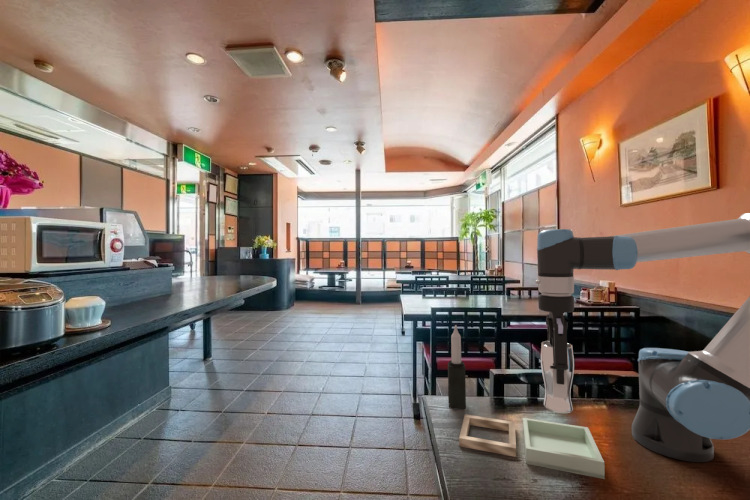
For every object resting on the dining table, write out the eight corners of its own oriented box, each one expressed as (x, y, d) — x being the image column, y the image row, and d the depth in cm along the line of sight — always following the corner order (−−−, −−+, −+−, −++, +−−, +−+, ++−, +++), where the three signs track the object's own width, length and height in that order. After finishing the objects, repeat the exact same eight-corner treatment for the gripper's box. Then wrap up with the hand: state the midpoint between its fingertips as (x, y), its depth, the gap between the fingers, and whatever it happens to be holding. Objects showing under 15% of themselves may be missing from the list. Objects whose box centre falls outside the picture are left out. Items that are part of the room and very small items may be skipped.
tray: (588, 441, 84) (587, 427, 84) (604, 479, 70) (604, 462, 70) (523, 430, 90) (522, 417, 90) (526, 463, 76) (525, 448, 76)
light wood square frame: (514, 429, 90) (514, 422, 90) (516, 456, 78) (516, 448, 78) (465, 421, 95) (465, 414, 95) (459, 446, 83) (459, 438, 83)
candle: (466, 409, 102) (464, 327, 103) (449, 408, 103) (447, 326, 103) (464, 402, 107) (463, 323, 108) (448, 401, 108) (447, 323, 108)
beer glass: (579, 415, 76) (578, 349, 76) (546, 413, 77) (545, 347, 77) (568, 402, 83) (567, 341, 83) (538, 399, 84) (537, 340, 84)
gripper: (535, 289, 91) (536, 375, 91) (542, 298, 73) (544, 405, 72) (566, 290, 88) (568, 378, 88) (582, 300, 70) (584, 411, 70)
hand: (557, 390), depth 80 cm, fingers closed on beer glass, 6 cm apart
